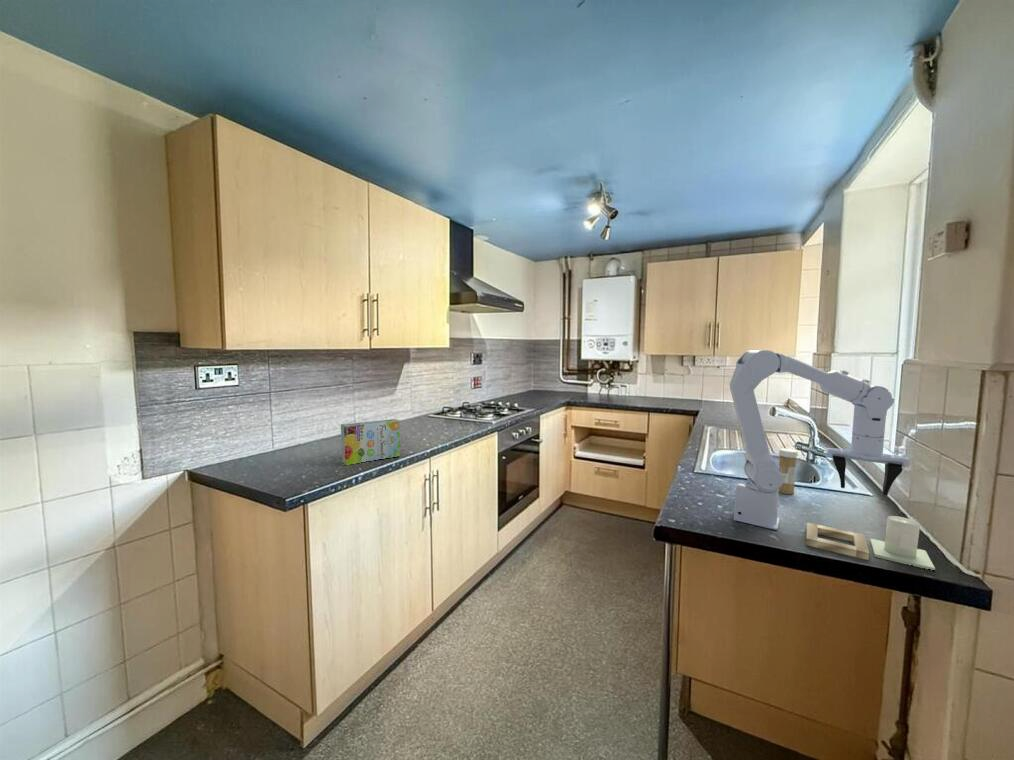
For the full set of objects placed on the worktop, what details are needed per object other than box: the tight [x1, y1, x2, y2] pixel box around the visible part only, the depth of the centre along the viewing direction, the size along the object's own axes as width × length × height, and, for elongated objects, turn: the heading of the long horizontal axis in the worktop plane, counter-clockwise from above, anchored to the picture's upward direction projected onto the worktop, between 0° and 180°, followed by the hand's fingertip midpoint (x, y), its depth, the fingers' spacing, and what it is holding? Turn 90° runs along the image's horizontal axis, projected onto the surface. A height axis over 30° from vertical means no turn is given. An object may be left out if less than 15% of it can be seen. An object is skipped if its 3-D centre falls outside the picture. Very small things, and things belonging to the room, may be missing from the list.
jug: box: [884, 515, 921, 558], centre depth 86 cm, size 7×5×7 cm
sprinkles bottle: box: [778, 447, 798, 495], centre depth 125 cm, size 5×5×14 cm
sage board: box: [869, 538, 936, 571], centre depth 87 cm, size 9×9×1 cm
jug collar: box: [805, 522, 870, 561], centre depth 92 cm, size 11×11×2 cm
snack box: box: [340, 418, 401, 466], centre depth 156 cm, size 21×6×15 cm, turn 125°
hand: (863, 490), depth 97 cm, fingers open, 7 cm apart
